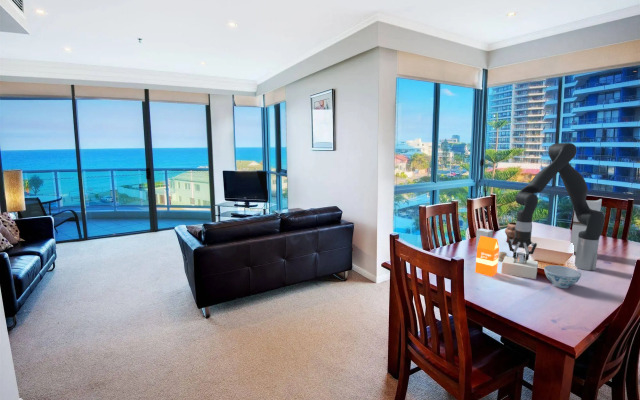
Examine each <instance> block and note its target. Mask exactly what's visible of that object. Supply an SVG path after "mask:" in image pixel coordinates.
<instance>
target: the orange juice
mask: <svg viewBox="0 0 640 400" xmlns="http://www.w3.org/2000/svg"><path fill="white" fill-rule="evenodd" d="M499 252H500V246H499V240H498V238H494V237H493V238H489V237H484V236H481V237H480V240H479V243H478V246H477V251H476V258H475V270H474V272H475V274H481V275H484V276H488V277H492V278H493V276H495V275H496V274H497V273H498V266H499Z"/></svg>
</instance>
